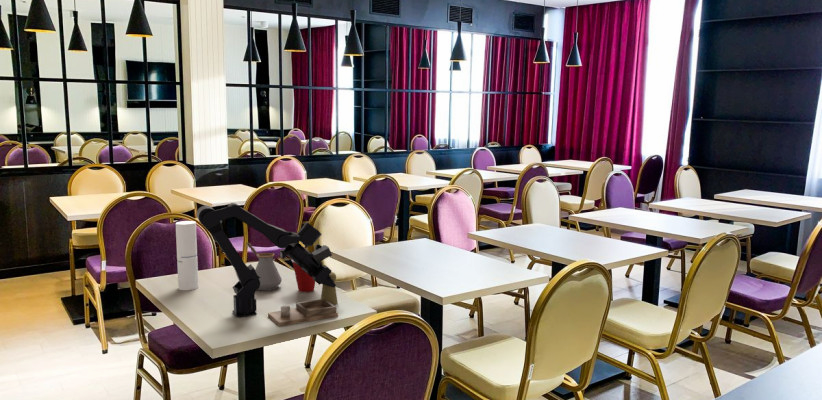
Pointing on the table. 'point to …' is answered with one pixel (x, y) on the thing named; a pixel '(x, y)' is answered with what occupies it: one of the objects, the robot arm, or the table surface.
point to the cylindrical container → (187, 255)
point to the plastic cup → (303, 279)
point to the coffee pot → (266, 270)
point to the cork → (330, 291)
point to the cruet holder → (304, 312)
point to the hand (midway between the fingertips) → (332, 284)
